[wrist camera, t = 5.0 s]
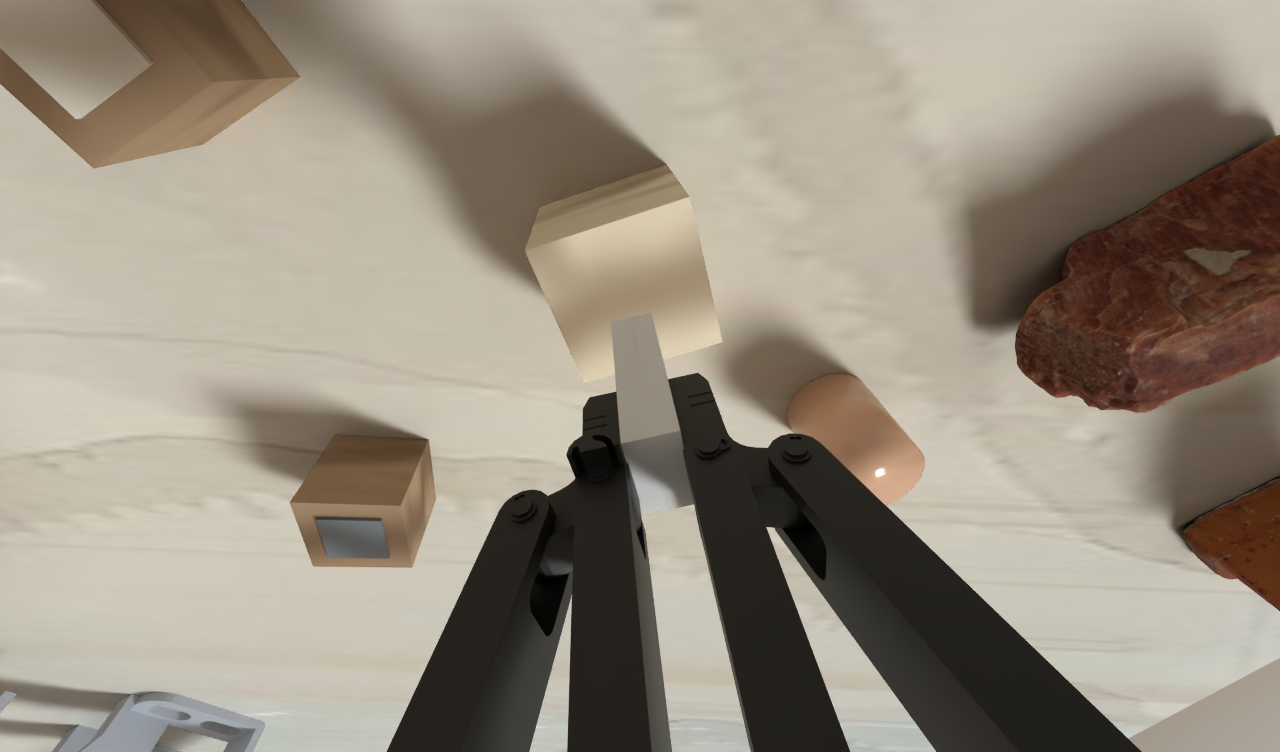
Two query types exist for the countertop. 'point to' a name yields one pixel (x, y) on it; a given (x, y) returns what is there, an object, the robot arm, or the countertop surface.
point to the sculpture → (1243, 540)
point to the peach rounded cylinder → (858, 434)
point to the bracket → (158, 725)
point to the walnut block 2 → (366, 502)
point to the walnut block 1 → (137, 71)
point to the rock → (1166, 294)
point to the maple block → (624, 268)
